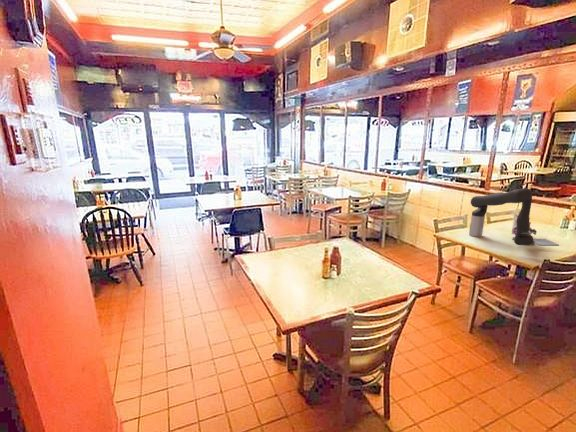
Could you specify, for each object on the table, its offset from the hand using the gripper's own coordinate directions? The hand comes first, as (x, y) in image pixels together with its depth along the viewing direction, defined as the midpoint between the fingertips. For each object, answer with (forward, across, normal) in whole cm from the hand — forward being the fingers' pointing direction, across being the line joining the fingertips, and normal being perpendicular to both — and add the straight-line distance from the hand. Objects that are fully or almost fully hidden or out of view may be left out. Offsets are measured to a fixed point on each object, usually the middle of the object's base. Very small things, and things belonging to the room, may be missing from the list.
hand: (525, 228), depth 240 cm
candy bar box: (+17, +3, +11) cm, 20 cm away
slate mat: (+5, -12, +11) cm, 17 cm away
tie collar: (-2, 0, +11) cm, 11 cm away
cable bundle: (-3, 0, +8) cm, 9 cm away
